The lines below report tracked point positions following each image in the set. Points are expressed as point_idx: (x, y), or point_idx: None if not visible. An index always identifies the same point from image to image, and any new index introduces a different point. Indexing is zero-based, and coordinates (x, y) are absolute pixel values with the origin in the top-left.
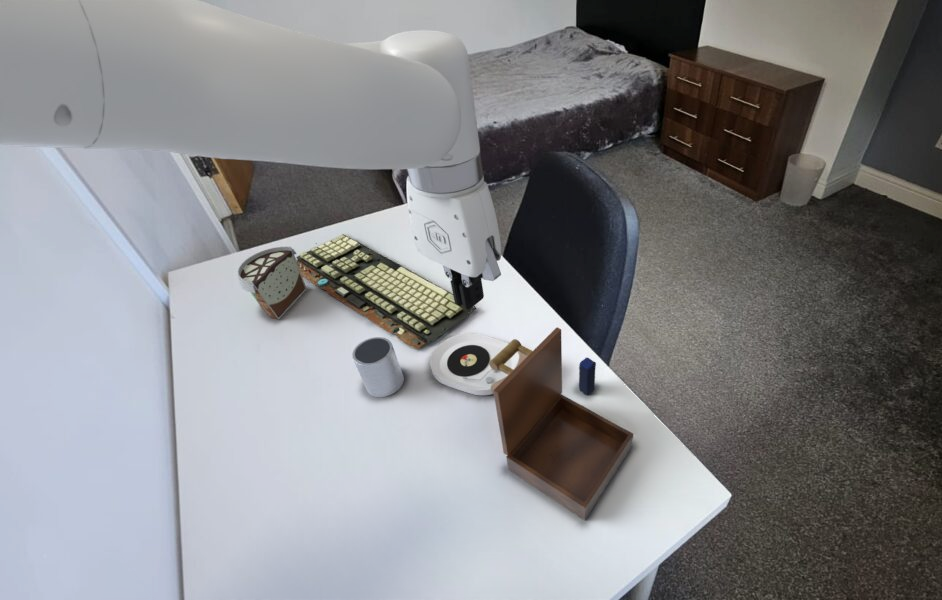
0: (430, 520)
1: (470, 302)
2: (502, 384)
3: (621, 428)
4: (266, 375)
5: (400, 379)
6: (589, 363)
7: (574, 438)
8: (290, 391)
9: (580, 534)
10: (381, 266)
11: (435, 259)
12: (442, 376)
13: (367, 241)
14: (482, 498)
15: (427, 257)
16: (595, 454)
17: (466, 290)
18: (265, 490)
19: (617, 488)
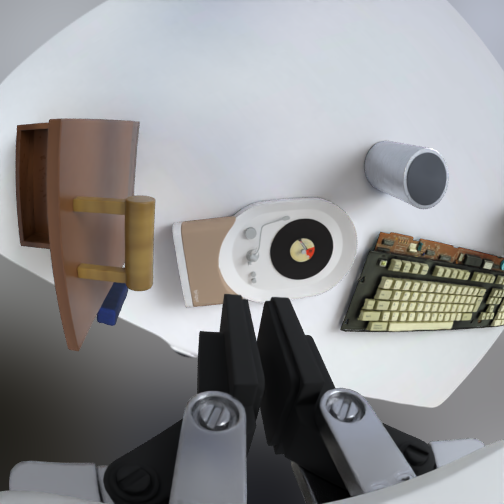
0: (194, 22)
1: (224, 327)
2: (53, 146)
3: (33, 245)
4: (489, 130)
5: (370, 174)
6: (102, 317)
7: None
8: (462, 117)
9: (32, 109)
10: (468, 316)
11: (444, 500)
12: (320, 206)
13: (485, 333)
14: (149, 73)
15: (491, 454)
16: None
17: (229, 370)
18: (394, 3)
19: None
